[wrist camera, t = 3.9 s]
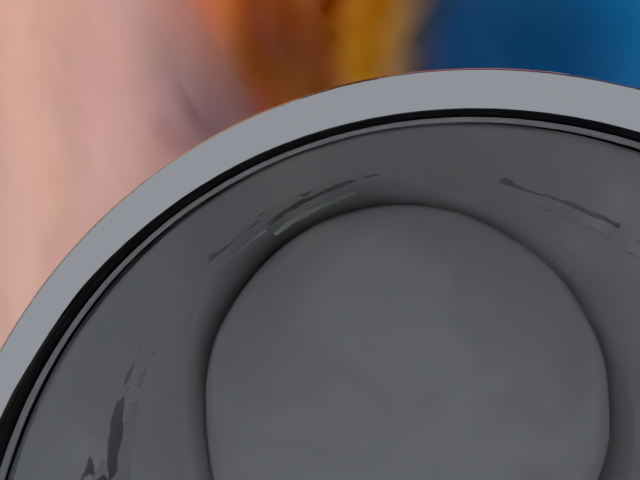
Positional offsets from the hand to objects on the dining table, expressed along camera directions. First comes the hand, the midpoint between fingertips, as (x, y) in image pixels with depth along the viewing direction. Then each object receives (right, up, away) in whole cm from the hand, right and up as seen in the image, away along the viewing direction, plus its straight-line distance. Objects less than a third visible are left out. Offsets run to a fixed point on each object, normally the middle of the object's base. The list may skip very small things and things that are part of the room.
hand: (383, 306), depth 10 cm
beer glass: (+1, -2, +8) cm, 8 cm away
